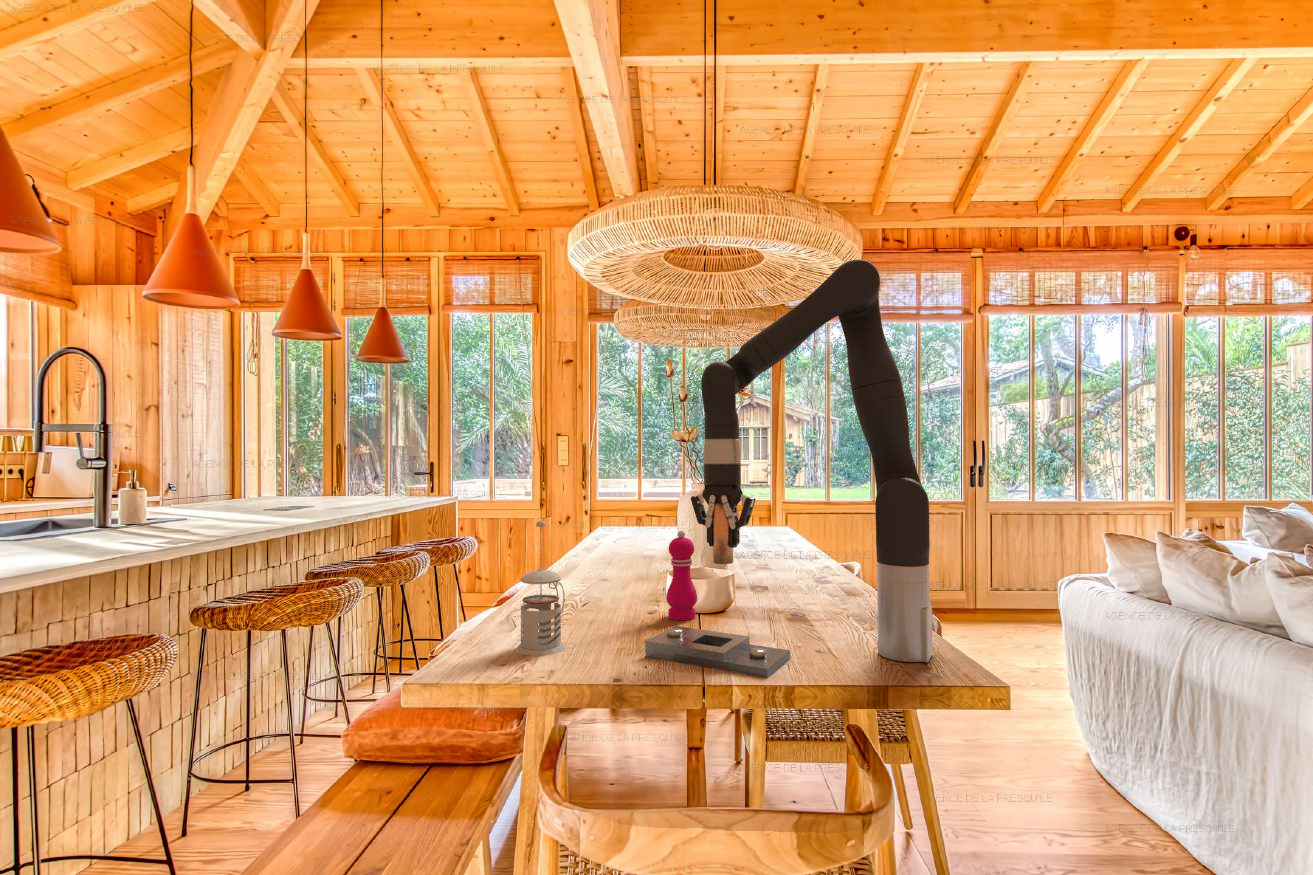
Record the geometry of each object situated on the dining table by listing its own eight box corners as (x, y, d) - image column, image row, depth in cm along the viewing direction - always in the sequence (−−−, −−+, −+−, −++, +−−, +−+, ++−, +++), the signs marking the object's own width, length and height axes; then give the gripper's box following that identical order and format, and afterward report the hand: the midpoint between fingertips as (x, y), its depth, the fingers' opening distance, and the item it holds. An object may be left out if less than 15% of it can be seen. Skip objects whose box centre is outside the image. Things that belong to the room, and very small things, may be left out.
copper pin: (736, 561, 134) (735, 502, 134) (728, 564, 131) (727, 503, 131) (718, 560, 136) (718, 502, 137) (710, 563, 133) (709, 503, 133)
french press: (504, 651, 128) (504, 521, 128) (542, 636, 138) (541, 516, 139) (545, 658, 123) (545, 524, 124) (581, 642, 133) (580, 518, 134)
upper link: (749, 652, 126) (749, 631, 126) (723, 670, 116) (723, 647, 116) (675, 640, 134) (675, 620, 134) (645, 656, 124) (645, 635, 124)
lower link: (790, 658, 122) (790, 644, 122) (767, 677, 112) (767, 662, 112) (702, 644, 131) (702, 632, 131) (673, 661, 121) (673, 647, 121)
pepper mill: (700, 614, 156) (699, 529, 157) (693, 621, 149) (693, 532, 150) (670, 612, 158) (670, 528, 159) (662, 619, 151) (662, 532, 152)
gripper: (762, 461, 134) (763, 546, 133) (699, 461, 141) (700, 542, 140) (747, 462, 127) (748, 551, 127) (682, 462, 134) (683, 546, 134)
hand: (723, 546), depth 134 cm, fingers closed on copper pin, 4 cm apart
